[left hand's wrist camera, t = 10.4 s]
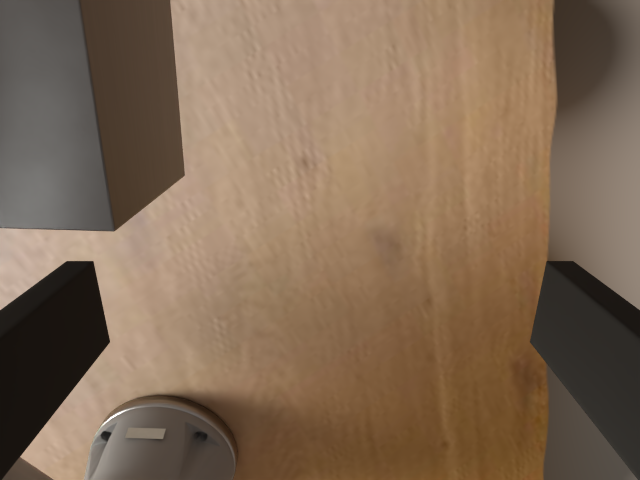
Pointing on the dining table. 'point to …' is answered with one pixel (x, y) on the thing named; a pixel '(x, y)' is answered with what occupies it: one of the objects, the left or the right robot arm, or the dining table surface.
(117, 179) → the bar
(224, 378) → the dining table surface
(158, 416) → the left robot arm
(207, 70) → the dining table surface
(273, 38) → the dining table surface
